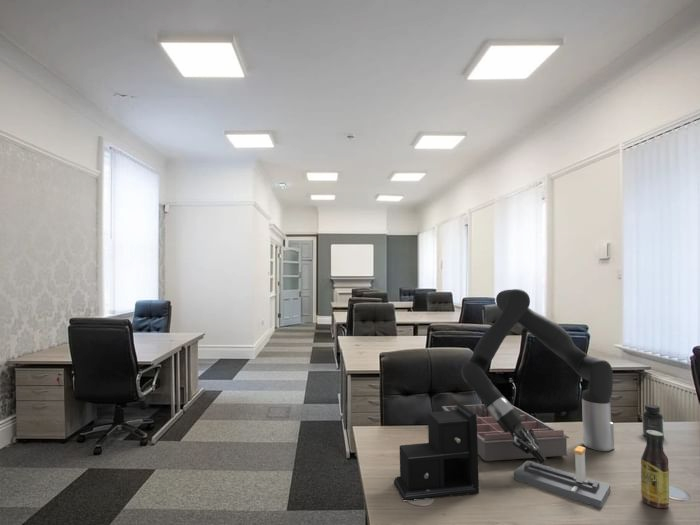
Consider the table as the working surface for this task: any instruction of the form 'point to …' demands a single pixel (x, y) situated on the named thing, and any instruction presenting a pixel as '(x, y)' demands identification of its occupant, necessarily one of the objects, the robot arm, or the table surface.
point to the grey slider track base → (562, 483)
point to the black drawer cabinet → (442, 458)
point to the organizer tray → (501, 443)
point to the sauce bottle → (655, 471)
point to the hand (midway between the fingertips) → (543, 462)
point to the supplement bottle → (652, 419)
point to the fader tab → (580, 465)
